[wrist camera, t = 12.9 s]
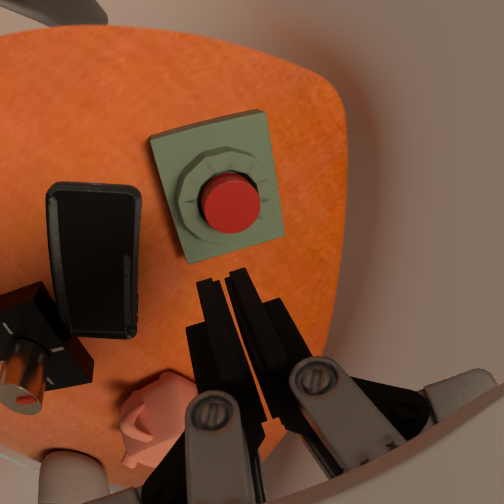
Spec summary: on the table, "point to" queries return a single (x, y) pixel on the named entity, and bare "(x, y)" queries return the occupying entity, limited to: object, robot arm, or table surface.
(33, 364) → the dial
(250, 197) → the button
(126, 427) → the teapot
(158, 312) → the table surface
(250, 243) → the button box
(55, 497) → the planter
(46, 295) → the dial panel
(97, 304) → the phone
